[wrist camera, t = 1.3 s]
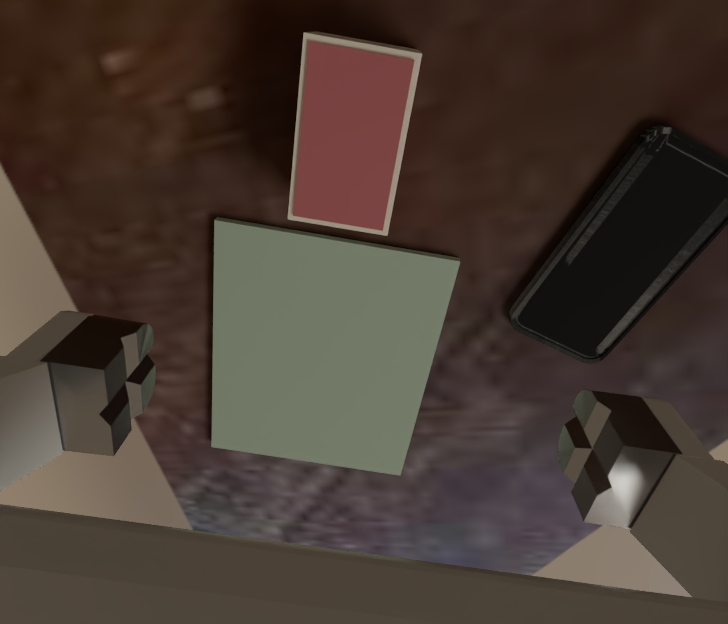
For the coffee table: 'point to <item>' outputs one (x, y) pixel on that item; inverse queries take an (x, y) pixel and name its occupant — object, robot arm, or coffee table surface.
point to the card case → (350, 130)
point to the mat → (322, 344)
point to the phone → (627, 246)
